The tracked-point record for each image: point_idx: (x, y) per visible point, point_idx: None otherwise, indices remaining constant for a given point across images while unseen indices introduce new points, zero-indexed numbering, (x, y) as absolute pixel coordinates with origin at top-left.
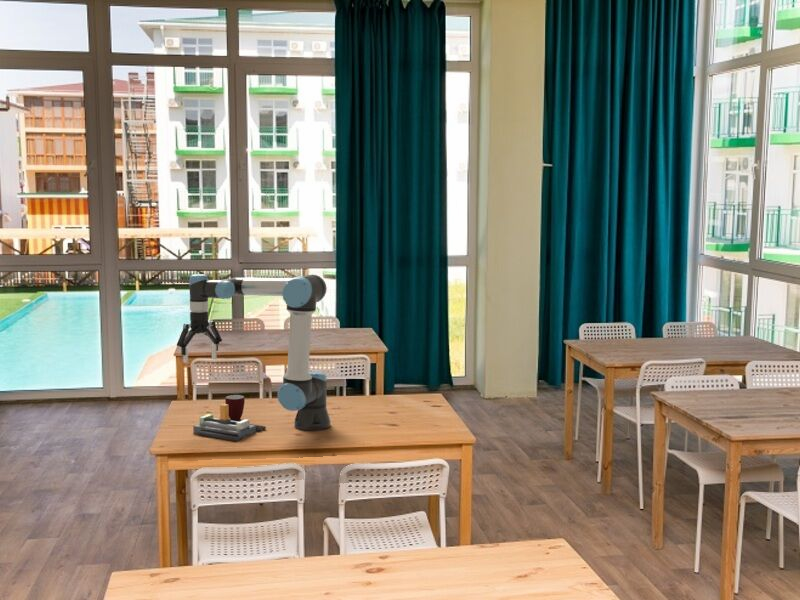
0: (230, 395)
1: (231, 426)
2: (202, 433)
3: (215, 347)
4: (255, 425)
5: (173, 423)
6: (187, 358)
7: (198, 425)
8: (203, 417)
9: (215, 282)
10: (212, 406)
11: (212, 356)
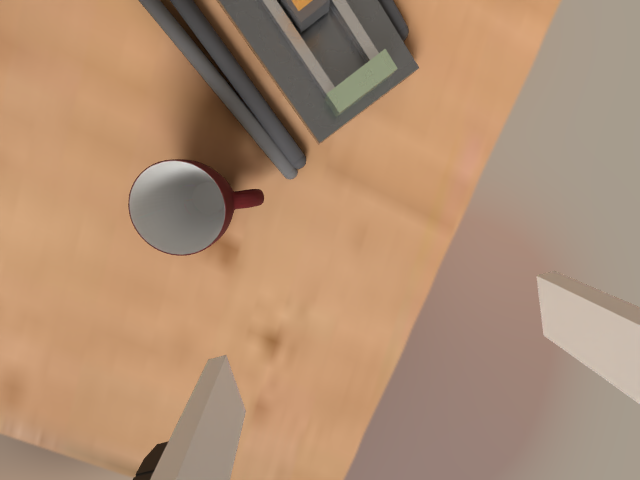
0: (190, 253)
1: None
2: (396, 6)
3: (173, 461)
4: (163, 11)
5: (430, 244)
6: (581, 292)
7: (398, 64)
8: (382, 59)
9: None
10: None
11: (237, 413)
